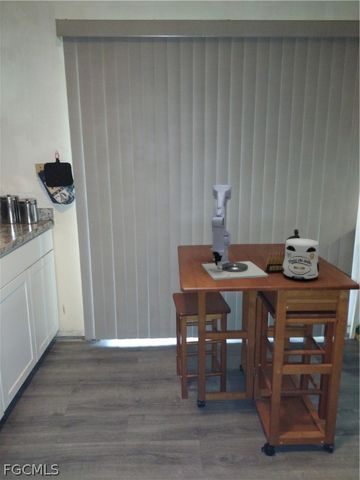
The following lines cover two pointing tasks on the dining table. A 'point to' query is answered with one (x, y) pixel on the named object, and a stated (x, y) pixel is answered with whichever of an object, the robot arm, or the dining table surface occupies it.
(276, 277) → the dining table surface
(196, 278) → the dining table surface
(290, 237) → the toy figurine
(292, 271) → the milk container
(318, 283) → the dining table surface
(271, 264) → the ammunition clip
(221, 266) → the dial
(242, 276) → the dial plate
